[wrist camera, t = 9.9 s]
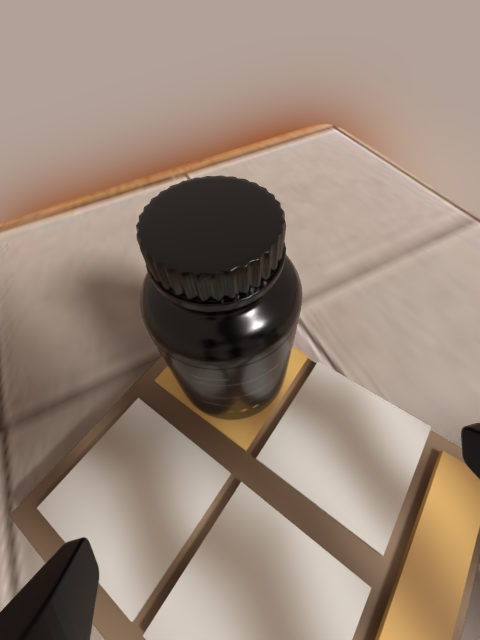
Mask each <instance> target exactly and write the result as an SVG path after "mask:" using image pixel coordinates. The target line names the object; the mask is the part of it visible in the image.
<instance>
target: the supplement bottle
mask: <svg viewBox="0 0 480 640" xmlns="http://www.w3.org/2000/svg"><path fill="white" fill-rule="evenodd" d="M136 228H137V241H138V243H139V246H140V250H141V253H142V255H143V257H144V260H145V262H146V267H147V271H148V272H147V274H146V277H145V279H144V282H143V286H142V290H141V298H140V305H141V313H142V318H143V320H144V323H145V326H146V328H147V330H148V332H149V334H150V336H151V338H152V340H153V341H154V343H155V345H156V346H157V348H158V350H159V352H160V353H161V355H162V357H163V358H164V360H165V362H166V363H167V365H168V367H169V369H170V370H171V372H172V374H173V375H174V377H175V379H176V381H177V382H178V384H179V386H180V387H181V389H182V391H183V392H184V394H185V395H186V397H187V398H188V400H189V401H190V402H191V403H192V404H193V405H194V406H195V407H196V408H197V409H199V410H200V411H202V412H203V413H205V414H207V415H209V416H212V417H214V418H218V419H224V420H239V419H244V418H248V417H251V416H253V415H255V414H257V413H259V412H261V411H263V410H264V409H265V408H267V407H268V406H269V405H270V404H271V403H272V402H273V401H274V400H275V398H276V397H277V396H278V394H279V392H280V390H281V388H282V386H283V384H284V380H285V377H286V373H287V368H288V364H289V359H290V355H291V351H292V346H293V342H294V338H295V333H296V329H297V324H298V320H299V316H300V311H301V305H302V286H301V281H300V278H299V275H298V273H297V270H296V268H295V266H294V265H293V263H292V262H291V260H290V259H289V257H288V256H287V255H286V247H285V242H284V240H285V231H286V223H285V214H284V211H283V210H282V209H281V205H280V202H278V201H277V200H276V199H275V197H274V195H273V194H271V193H269V192H268V191H267V189H266V188H263V187H261V186H259V185H258V184H257V183H254V182H249V181H248V180H246V179H238V178H236V177H225V176H206V177H202V178H194V179H191V180H187V181H182V182H181V183H179V184H176V185H173V186H170V187H169V188H168V189H167V190H164V191H162V192H160V193H159V195H158V196H156V197H154V198H153V199H151V201H150V203H149V204H148V205H146V206H145V207H144V211H143V213H142V214H140V216H139V222H138V223H137V225H136Z"/></svg>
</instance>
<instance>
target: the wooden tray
mask: <svg viewBox="0 0 480 640" xmlns="http://www.w3.org/2000/svg"><path fill="white" fill-rule="evenodd" d="M430 429H431V427H430V426H429V425H427V424H425V423H424V422H422V421H420V420H418V419H417V418H415V417H413V416H412V415H410V414H408V413H406V412H405V411H403V410H401V409H399V408H398V407H396V406H394V405H393V404H391V403H389V402H387V401H386V400H384V399H382V398H381V397H379V396H377V395H375V394H374V393H372V392H370V391H368V390H367V389H365V388H363V387H362V386H360V385H358V384H356V383H355V382H353V381H351V380H350V379H348V378H346V377H344V376H343V375H341V374H339V373H338V372H336V371H334V370H332V369H331V368H329V367H327V366H325V365H324V364H322V363H320V362H319V361H318V362H317V364H316V363H315V362H313V361H311V360H310V359H308V355H307V354H305V353H303V352H301V351H300V350H298V349H296V348H294V347H293V346H292V351H291V355H290V359H289V364H288V368H287V373H286V377H285V380H284V384H283V386H282V388H281V390H280V392H279V394H278V396H277V397H276V398H275V400H274V401H273V402H272V403H271V404H270V405H269V406H268V407H267V408H265V409H264V410H263V411H261V412H259V413H257V414H255V415H253V416H251V417H248V418H244V419H239V420H224V419H218V418H214V417H212V416H209V415H207V414H205V413H203V412H202V411H200V410H199V409H197V408H196V407H195V406H194V405H193V404H192V403H191V402H190V401H189V400H188V398H187V397H186V395H185V394H184V392H183V391H182V389H181V387H180V386H179V384H178V382H177V381H176V379H175V377H174V375H173V374H172V372H171V370H170V369H169V367H168V365H167V363H166V362H165V360H164V358H163V357H162V356H161V357H160V358H159V359H158V360H157V361H156V362H155V363H154V364H153V365H152V366H151V367H150V368H149V369H148V370H147V371H146V372H145V374H144V375H143V376H142V377H141V378H140V379H139V380H138V381H137V382H136V383H135V384H134V385H133V386H132V387H131V388H130V389H129V390H128V391H127V392H126V393H125V394H124V396H123V397H122V398H121V399H120V400H119V401H118V402H117V403H116V404H115V405H114V406H113V407H112V408H111V409H110V410H109V411H108V412H107V413H106V414H105V415H104V417H103V418H102V419H101V420H100V421H99V422H98V423H97V424H96V425H95V426H94V427H93V428H92V429H91V430H90V431H89V432H88V433H87V434H86V435H85V436H84V438H83V439H82V440H81V441H80V442H79V443H78V444H77V445H76V446H75V447H74V448H73V449H72V450H71V451H70V452H69V453H68V454H67V455H66V456H65V457H64V459H63V460H62V461H61V462H60V463H59V464H58V465H57V466H56V467H55V468H54V469H53V470H52V471H51V472H50V473H49V474H48V475H47V476H46V477H45V478H44V480H43V481H42V482H41V483H40V484H39V485H38V486H37V487H36V488H35V489H34V490H33V491H32V492H31V493H30V494H29V495H28V496H27V497H26V498H25V499H24V501H23V502H22V503H21V504H20V505H19V506H18V507H17V508H16V509H15V510H14V511H13V512H12V513H11V514H10V515H9V516H10V517H11V519H12V520H13V521H14V523H15V524H16V525H17V526H18V528H19V529H20V530H21V532H22V533H23V534H24V535H25V537H26V538H27V539H28V541H29V542H30V543H31V545H32V546H33V547H34V548H35V550H36V551H37V552H38V554H39V555H40V556H41V557H42V559H43V560H44V561H45V563H47V561H48V560H49V559H50V558H51V557H52V556H53V555H54V554H55V553H56V552H57V551H58V550H59V549H60V548H61V546H62V545H64V544H65V543H66V542H68V541H72V540H75V539H78V538H82V537H85V538H87V539H88V540H89V542H90V544H91V547H92V550H93V553H94V555H95V558H96V561H97V563H98V567H99V583H98V590H97V596H96V603H95V609H94V616H93V622H92V623H93V625H94V626H95V627H96V629H97V630H98V631H99V632H100V634H101V635H102V636H103V638H104V639H105V640H460V639H461V635H462V631H463V627H464V623H465V618H466V614H467V610H468V606H469V601H470V597H471V593H472V589H473V585H474V580H475V576H476V572H477V568H478V563H479V559H480V479H479V478H478V477H477V476H476V475H475V474H474V473H473V472H472V471H471V470H470V469H469V467H468V466H467V465H466V463H465V462H464V460H463V456H462V448H460V447H458V446H456V445H455V444H453V443H451V442H450V441H448V440H446V439H445V438H443V437H441V436H439V435H438V434H436V433H434V432H433V431H431V430H430Z"/></svg>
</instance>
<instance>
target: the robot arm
mask: <svg viewBox="0 0 480 640" xmlns="http://www.w3.org/2000/svg"><path fill="white" fill-rule="evenodd" d="M461 440H462V456H463V460H464V462H465V463H466V465H467V466H468V467H469V469H470V470H471V471H472V472H473V473H474V474H475V475H476V476H477V477H478V478H479V479H480V423H475V424H472V425H468V426H465V427H463V429H462V431H461ZM98 583H99V567H98V563H97V561H96V558H95V555H94V553H93V550H92V547H91V544H90V542H89V540H88V539H87V538H85V537H82V538H78V539H75V540H72V541H68V542H66V543H65V544H64V545H62V546H61V548H60V549H59V550H58V551H57V552H56V553H55V554H54V555H53V556H52V557H51V558H50V559H49V560H48V561H47V563H46V564H45V565H44V566H43V567H42V568H41V569H40V570H39V571H38V572H37V573H36V574H35V575H34V577H33V578H32V579H31V580H30V581H29V582H28V583H27V584H26V585H25V586H24V587H23V588H22V589H21V590H20V592H19V593H18V594H17V595H16V596H15V597H14V598H13V599H12V600H11V601H10V602H9V603H8V604H7V606H6V607H5V608H4V609H3V610H2V611H1V612H0V640H90V635H91V629H92V622H93V616H94V609H95V603H96V596H97V590H98Z"/></svg>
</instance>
